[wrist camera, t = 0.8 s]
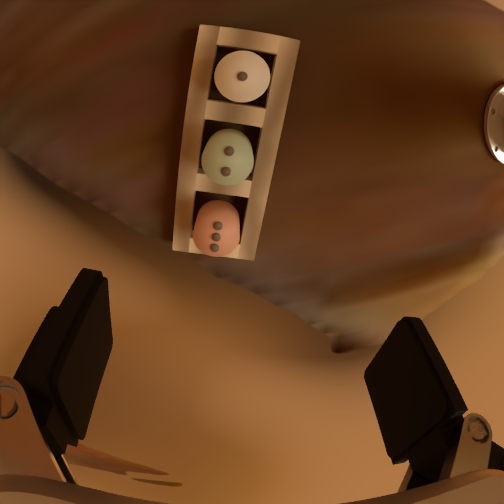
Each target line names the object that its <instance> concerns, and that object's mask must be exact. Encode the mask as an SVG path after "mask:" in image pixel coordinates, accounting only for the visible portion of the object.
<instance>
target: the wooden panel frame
mask: <svg viewBox="0 0 504 504" xmlns="http://www.w3.org/2000/svg"><path fill="white" fill-rule="evenodd" d="M300 41H301V40H296V39H292V38H287V37H283V36H278V35H273V34H267V33H262V32H256V31H250V30H243V29H236V28H229V27H220V26H211V25H200V27H199V32H198V38H197V43H196V49H195V54H194V60H193V66H192V72H191V78H190V85H189V91H188V98H187V105H186V112H185V120H184V128H183V136H182V144H181V153H180V162H179V172H178V182H177V194H176V206H175V219H174V233H173V250H176V251H184V252H191V253H199V254H204V253H203V252H201V251H200V250H199V249H198V248H197V247H196V245H195V243H194V240H193V230H192V224H193V215H194V205H195V196H196V191H203V192H211V193H218V194H226V195H233V196H240V197H247V201H246V207H245V212H244V218H243V223H242V228H241V234H240V240H239V243H238V245H237V247H236V248H235V249H234V250H233V251H232V252H231V253H229V254H227V255H225V256H222V257H230V258H238V259H246V260H254V258H255V253H256V248H257V244H258V239H259V234H260V230H261V225H262V220H263V216H264V211H265V206H266V202H267V197H268V192H269V188H270V183H271V178H272V173H273V169H274V164H275V159H276V155H277V150H278V145H279V140H280V136H281V131H282V126H283V122H284V117H285V112H286V107H287V103H288V98H289V93H290V88H291V84H292V79H293V74H294V69H295V65H296V60H297V55H298V50H299V45H300ZM218 46H220V47H228V48H236V49H243V50H249V51H255V52H261V53H267V54H272V55H275V57H274V62H273V67H272V72H271V77H270V82H269V87H268V92H267V97H266V102H265V107H261V106H255V105H249V104H243V103H236V102H229V101H222V100H214V99H209V94H210V88H211V82H212V76H213V70H214V65H215V59H216V54H217V48H218ZM206 119H209V120H216V121H224V122H231V123H238V124H244V125H251V126H257V127H261V128H260V133H259V138H258V143H257V148H256V154H255V159H254V164H253V169H252V175H249V176H248V177H247V178H246V179H245V180H243V181H242V182H240V183H238V184H235V185H220V184H217V183H215V182H213V181H212V180H211V179H209V178H208V177H207V175H206V174H205V172H204V170H203V168H199V163H200V155H201V148H202V141H203V134H204V127H205V120H206Z"/></svg>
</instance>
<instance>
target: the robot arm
mask: <svg viewBox="0 0 504 504" xmlns="http://www.w3.org/2000/svg"><path fill="white" fill-rule="evenodd" d="M484 135H485V139H486V143H487V146H488V149H489V151H490V152H491V154H492V155H493V157H494V158H495V159H496V160H497V161H499V162H500V163H502V164H504V84H502V85H500V86H498V87H497V88H496V89H495V90H494V91H493V93H492V94H491V96H490V98H489V100H488V102H487V105H486V109H485V114H484ZM112 344H113V337H112V328H111V317H110V307H109V291H108V279H107V278H106V277H103V275H102V272H101V271H97V270H92V269H87V268H83V269H82V270H81V271H80V273H79V274H78V276H77V277H76V279H75V281H74V282H73V284H72V286H71V287H70V289H69V290H68V292H67V294H66V295H65V297H64V299H63V301H62V302H61V304H60V306H59V307H57V306H54V307H52V308H51V309H50V310H49V312H48V313H47V315H46V317H45V319H44V321H43V322H42V324H41V326H40V327H39V329H38V331H37V333H36V335H35V336H34V338H33V340H32V342H31V344H30V346H29V348H28V350H27V351H26V353H25V355H24V357H23V359H22V361H21V363H20V365H19V367H18V370H17V371H16V373H15V375H14V378H11V377H8V376H0V504H168V503H161V502H155V501H148V500H142V499H137V498H131V497H127V496H122V495H117V494H113V493H108V492H104V491H100V490H96V489H92V488H87V487H83V486H79V484H78V483H77V481H76V479H75V478H74V476H73V474H72V472H71V470H70V468H69V466H68V464H67V462H66V460H65V458H64V456H63V454H64V453H65V451H66V447H67V444H69V445H72V446H75V447H77V444H78V440H79V439H80V440H83V439H84V438H85V435H86V432H87V428H88V424H89V421H90V417H91V414H92V410H93V406H94V403H95V400H96V397H97V393H98V390H99V386H100V383H101V380H102V377H103V374H104V371H105V368H106V365H107V362H108V359H109V356H110V353H111V349H112ZM364 379H365V382H366V385H367V388H368V391H369V395H370V398H371V401H372V404H373V407H374V411H375V414H376V417H377V420H378V424H379V427H380V430H381V434H382V437H383V441H384V444H385V447H386V451H387V454H388V456H389V457H390V458H391V460H392V463H393V465H394V464H399V463H404V462H406V461H407V460H409V463H410V465H409V467H408V469H407V472H406V474H405V476H404V479H403V481H402V483H401V485H400V487H399V490H398V492H397V493H395V494H390V495H386V496H381V497H377V498H371V499H366V500H360V501H354V502H348V503H341V504H504V448H502V447H501V446H499V445H497V444H496V443H494V442H493V441H492V430H491V427H490V425H489V423H488V422H487V420H486V419H485V418H484V417H483V416H481V415H479V414H477V413H470V414H468V415H467V416H466V417H465V418H463V416H462V415H463V414H464V413H465V412H466V411H467V410H468V409H467V407H466V404H465V402H464V400H463V398H462V396H461V394H460V392H459V390H458V388H457V386H456V384H455V382H454V380H453V378H452V376H451V374H450V372H449V370H448V368H447V366H446V364H445V362H444V360H443V358H442V356H441V354H440V352H439V351H438V349H437V347H436V345H435V343H434V341H433V340H432V338H431V336H430V334H429V333H428V331H427V329H426V327H425V325H424V324H423V322H422V320H421V319H420V318H416V317H403V318H402V319H401V320H400V321H398V322H397V324H396V325H395V327H394V328H393V330H392V332H391V333H390V335H389V336H388V338H387V339H386V341H385V342H384V344H383V345H382V347H381V348H380V350H379V351H378V353H377V354H376V356H375V357H374V358H373V360H372V362H371V363H370V364H369V366H368V367H367V368H366V370H365V374H364Z"/></svg>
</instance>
